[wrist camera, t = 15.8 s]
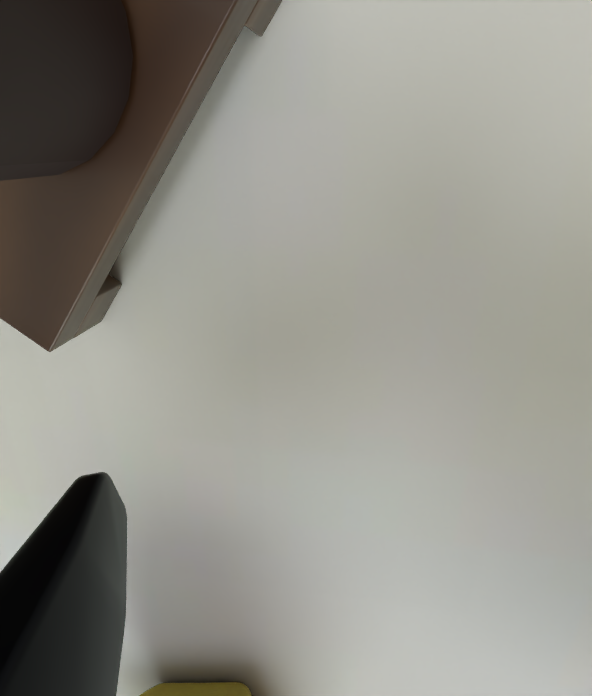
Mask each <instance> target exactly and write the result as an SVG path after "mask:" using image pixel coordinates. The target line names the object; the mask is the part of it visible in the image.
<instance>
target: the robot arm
mask: <svg viewBox="0 0 592 696" xmlns="http://www.w3.org/2000/svg"><path fill="white" fill-rule="evenodd" d="M126 566H127V514H126V509H125V506H124V504H123V502H122V500H121V498H120V496H119V494H118V492H117V490H116V488H115V486H114V484H113V482H112V480H111V478H110V476H109V475H108V474H107V473H105V472H100V473H95V474H89V475H84V476H81V477H79V478H78V479H76V480H75V481H74V483H73V484H72V485H71V486H70V488H69V489H68V490H67V491H66V492H65V494H64V495H63V496H62V497H61V499H60V500H59V501H58V502H57V504H56V505H55V506H54V507H53V508H52V510H51V511H50V512H49V513H48V515H47V516H46V517H45V518H44V520H43V521H42V522H41V523H40V524H39V526H38V527H37V528H36V529H35V531H34V532H33V533H32V534H31V536H30V537H29V538H28V539H27V540H26V542H25V543H24V544H23V545H22V547H21V548H20V549H19V550H18V551H17V553H16V554H15V555H14V556H13V558H12V559H11V560H10V561H9V563H8V564H7V565H6V566H5V567H4V569H3V570H2V571H1V572H0V696H116V691H117V683H118V675H119V667H120V659H121V651H122V643H123V635H124V626H125V616H126Z"/></svg>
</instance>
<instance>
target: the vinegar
mask: <svg viewBox="0 0 592 696" xmlns="http://www.w3.org/2000/svg"><path fill="white" fill-rule="evenodd" d="M132 62H133V53H132V47H131V41H130V34H129V28H128V22H127V16H126V11H125V9H124V6H123V4H122V2H121V0H0V181H3V180H13V179H23V178H33V177H43V176H53V175H60V174H62V173H64V172H66V171H68V170H70V169H72V168H74V167H76V166H78V165H80V164H82V163H84V162H86V161H88V160H89V159H91V158H92V157H93V156H94V155H95V153H96V152H97V151H98V150H99V149H100V148H101V147H102V146H103V145H104V143H105V142H106V141H107V140H108V139H109V138H110V137H111V136H112V135H113V133H114V132H115V129H116V127H117V125H118V122H119V120H120V118H121V115H122V113H123V110H124V108H125V106H126V103H127V101H128V98H129V90H130V81H131V71H132Z"/></svg>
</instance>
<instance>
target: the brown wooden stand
mask: <svg viewBox="0 0 592 696" xmlns="http://www.w3.org/2000/svg"><path fill="white" fill-rule="evenodd" d="M281 1H282V0H121V2H122V4H123V6H124V9H125V11H126V16H127V22H128V28H129V34H130V41H131V47H132V53H133V62H132V71H131V81H130V90H129V98H128V101H127V103H126V106H125V108H124V110H123V113H122V115H121V118H120V120H119V122H118V125H117V127H116V129H115V132H114V133H113V135H112V136H111V137H110V138H109V139H108V140H107V141H106V142H105V143H104V145H103V146H102V147H101V148H100V149H99V150H98V151H97V152H96V153H95V155H94V156H93V157H92V158H91V159H89V160H88V161H86V162H84V163H82V164H80V165H78V166H76V167H74V168H72V169H70V170H68V171H66V172H64V173H62V174H60V175H53V176H43V177H33V178H23V179H13V180H3V181H0V318H1V319H2V320H4V321H5V322H7V323H8V324H10V325H11V326H12V327H14V328H15V329H17V330H18V331H20V332H21V333H22V334H24V335H25V336H27V337H28V338H30V339H31V340H33V341H34V342H35V343H37V344H38V345H40V346H41V347H43V348H44V349H46V350H47V351H49V352H51V351H53V350H54V349H56V348H58V347H59V346H61V345H63V344H64V343H66V342H67V341H69V340H71V339H72V338H75V337H76V336H78V335H80V334H81V333H83V332H85V331H86V330H88V329H90V328H91V327H93V326H95V325H96V324H98V323H100V322H101V320H102V319H103V317H104V315H105V313H106V312H107V310H108V308H109V306H110V304H111V303H112V301H113V299H114V297H115V296H116V294H117V292H118V290H119V289H120V287H121V285H122V283H120V282H119V281H118V280H116V279H115V278H113V277H112V276H111V275H109V274H108V273H109V272H110V270H111V268H112V266H113V264H114V262H115V261H116V259H117V257H118V255H119V253H120V251H121V250H122V248H123V246H124V244H125V242H126V240H127V239H128V237H129V235H130V233H131V231H132V230H133V228H134V226H135V224H136V222H137V220H138V219H139V217H140V215H141V213H142V211H143V209H144V208H145V206H146V204H147V202H148V200H149V198H150V197H151V195H152V193H153V191H154V189H155V187H156V186H157V184H158V182H159V180H160V178H161V176H162V175H163V173H164V171H165V169H166V167H167V165H168V164H169V162H170V160H171V158H172V156H173V154H174V153H175V151H176V149H177V147H178V145H179V144H180V142H181V140H182V138H183V136H184V134H185V133H186V131H187V129H188V127H189V125H190V123H191V122H192V120H193V118H194V116H195V114H196V112H197V111H198V109H199V107H200V105H201V103H202V101H203V100H204V98H205V96H206V94H207V92H208V90H209V89H210V87H211V85H212V83H213V81H214V79H215V78H216V76H217V74H218V72H219V70H220V69H221V67H222V65H223V63H224V61H225V59H226V58H227V56H228V54H229V52H230V50H231V48H232V47H233V45H234V43H235V41H236V39H237V37H238V36H239V34H240V32H241V30H242V28H243V26H244V25H245V26H246V27H247V28H249V29H250V30H251V31H253V32H254V33H255V34H257V35H258V36H260V37H261V36H262V35H263V33H264V31H265V29H266V28H267V26H268V24H269V22H270V21H271V19H272V17H273V15H274V13H275V12H276V10H277V8H278V6H279V5H280V3H281Z"/></svg>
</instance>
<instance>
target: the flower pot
mask: <svg viewBox="0 0 592 696" xmlns="http://www.w3.org/2000/svg"><path fill="white" fill-rule="evenodd" d="M139 696H252V695H251V693H250V690H249V689H248V687H247V686H246V685H244V684H243V683H239V682H219V683H161V684H158V685H156V686H154V687H152V688H151V689H149V690H147V691H146V692H144V693H142V694H141V695H139Z"/></svg>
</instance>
